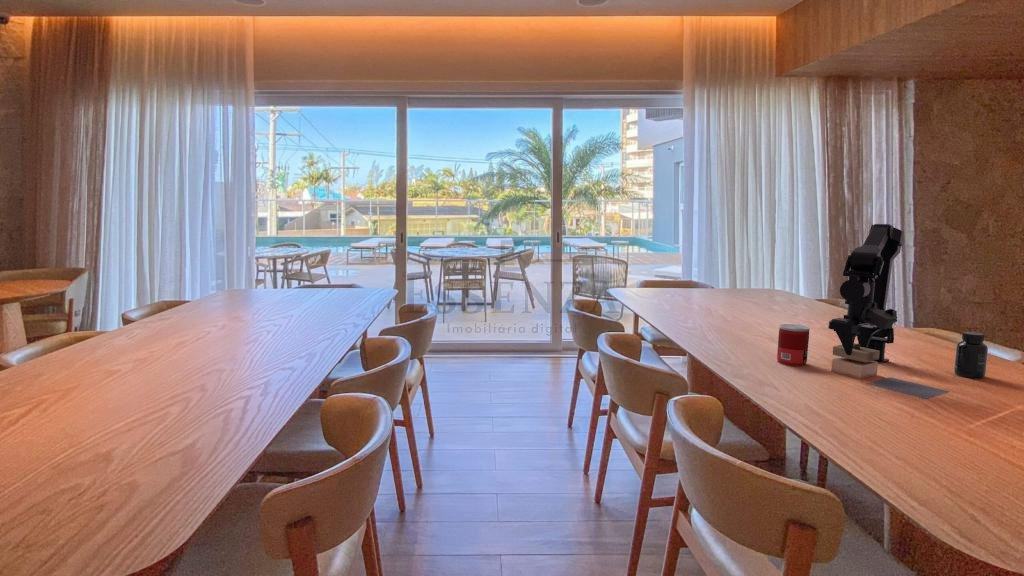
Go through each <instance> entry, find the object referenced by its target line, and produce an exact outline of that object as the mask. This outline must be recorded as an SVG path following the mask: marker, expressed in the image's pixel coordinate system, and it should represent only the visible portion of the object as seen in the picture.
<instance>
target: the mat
mask: <svg viewBox="0 0 1024 576" xmlns="http://www.w3.org/2000/svg"><path fill="white" fill-rule="evenodd" d="M865 384H866V385H869V386H874V387H877V388H881V389H886V390H889V391H893V392H897V393H900V394H904V395H908V396H912V397H916V398H918V399H919V398H920V399H925V400H928V399H932V398H934V397H937V396H940V395H944V394H947V393H950V392H951V391H950V390H949V391H948V390H945V389H942V388H941V389H940V388H936V387H933V386H928V385H924V384H920V383H917V382H912V381H908V380H903V379H900V378H894V377H892V376H890V377H887V378H885V377H884V378H883V379H877V380H875V381H869V382H867V383H865Z"/></svg>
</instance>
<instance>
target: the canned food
mask: <svg viewBox="0 0 1024 576" xmlns="http://www.w3.org/2000/svg"><path fill="white" fill-rule="evenodd" d="M777 340H778V341H777V353H776V359H777V362H778V363H779V364H782V365H784V364H785V366H789V367H790V366H791V367H803V366H806V365H807V362H808V353H809V340H810V327H808V326H805V325H800V324H794V323H793V324H792V323H785V324H784V323H783V324H780V325H779V328H778V339H777Z"/></svg>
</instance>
